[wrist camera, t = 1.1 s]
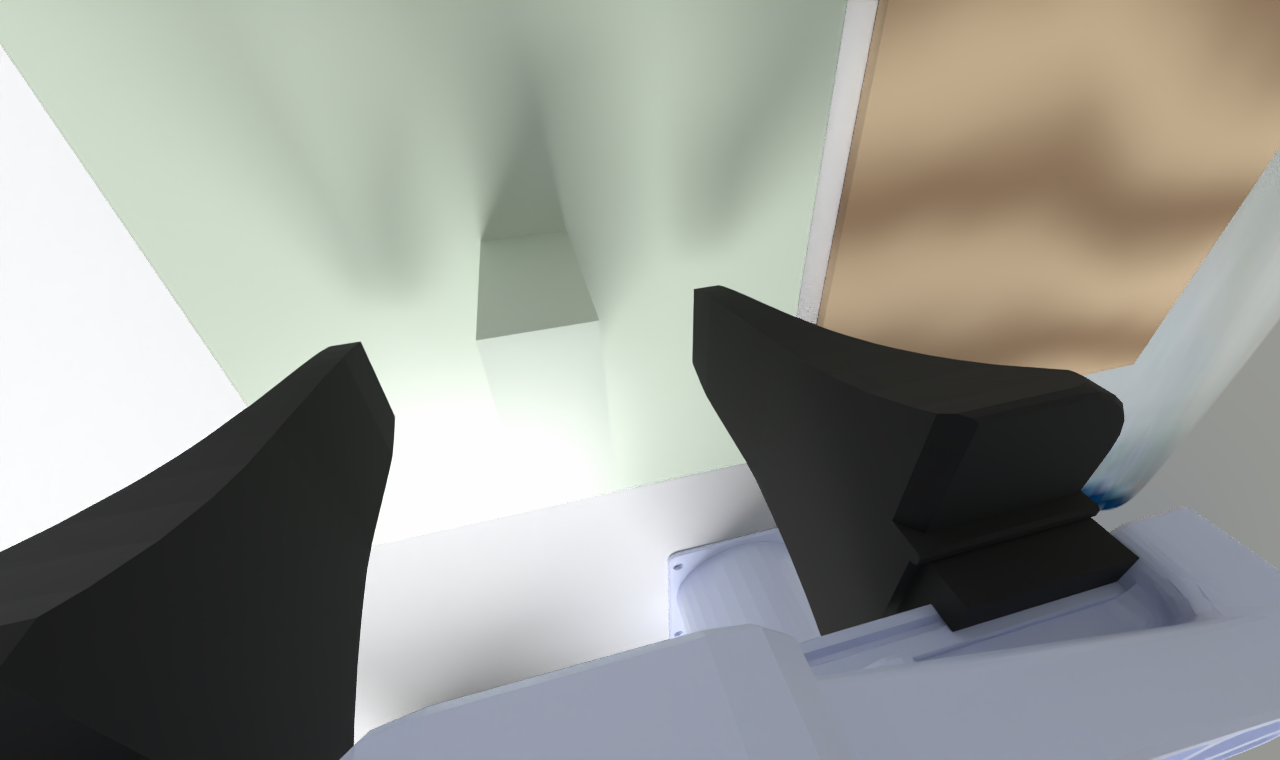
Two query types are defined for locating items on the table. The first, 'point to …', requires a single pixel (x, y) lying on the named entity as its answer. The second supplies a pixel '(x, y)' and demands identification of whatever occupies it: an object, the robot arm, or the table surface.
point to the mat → (1046, 172)
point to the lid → (459, 208)
